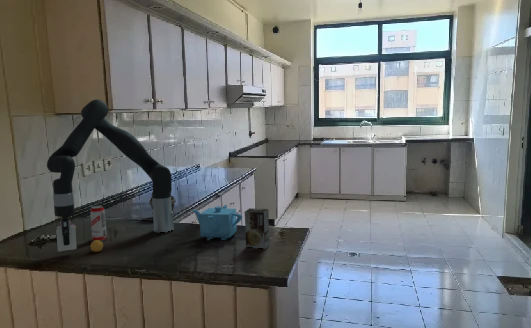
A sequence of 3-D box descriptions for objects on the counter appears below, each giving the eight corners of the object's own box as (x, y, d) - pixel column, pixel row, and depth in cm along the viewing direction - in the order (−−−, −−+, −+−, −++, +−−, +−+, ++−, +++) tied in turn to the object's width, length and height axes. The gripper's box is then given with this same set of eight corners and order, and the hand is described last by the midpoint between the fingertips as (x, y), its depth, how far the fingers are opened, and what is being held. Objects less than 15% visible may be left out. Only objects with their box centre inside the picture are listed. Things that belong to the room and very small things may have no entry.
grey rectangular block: (76, 244, 171) (74, 224, 170) (76, 249, 165) (74, 228, 164) (58, 246, 168) (57, 226, 167) (58, 251, 162) (56, 230, 161)
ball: (103, 248, 175) (102, 237, 174) (103, 252, 170) (103, 240, 170) (90, 250, 173) (89, 239, 172) (91, 254, 168) (90, 242, 168)
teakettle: (245, 238, 185) (244, 207, 183) (209, 246, 175) (207, 213, 173) (226, 229, 200) (225, 200, 199) (191, 236, 190) (190, 206, 189)
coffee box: (270, 244, 174) (269, 208, 172) (265, 249, 168) (264, 212, 166) (250, 243, 177) (249, 207, 175) (245, 247, 171) (244, 211, 169)
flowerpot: (144, 218, 228) (142, 184, 226) (165, 212, 240) (164, 180, 238) (160, 221, 219) (158, 186, 217) (182, 215, 231) (180, 182, 229)
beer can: (101, 242, 185) (99, 208, 183) (89, 241, 186) (86, 208, 184) (109, 238, 191) (107, 205, 189) (97, 237, 192) (95, 205, 190)
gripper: (74, 205, 160) (77, 246, 161) (74, 199, 172) (76, 236, 174) (52, 208, 156) (56, 248, 158) (54, 201, 169) (57, 239, 171)
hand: (67, 242), depth 166 cm, fingers closed on grey rectangular block, 7 cm apart
